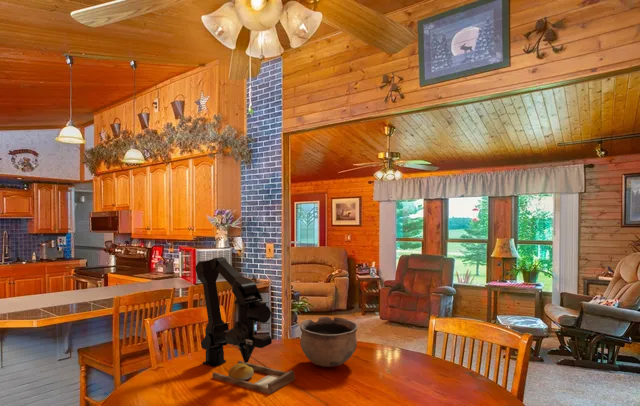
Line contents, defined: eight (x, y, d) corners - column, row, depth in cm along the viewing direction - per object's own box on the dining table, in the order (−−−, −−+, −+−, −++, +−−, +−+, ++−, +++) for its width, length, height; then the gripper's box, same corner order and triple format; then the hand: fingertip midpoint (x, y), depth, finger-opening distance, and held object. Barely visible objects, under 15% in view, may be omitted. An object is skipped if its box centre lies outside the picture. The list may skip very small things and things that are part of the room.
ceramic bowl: (345, 350, 174) (345, 314, 174) (367, 370, 154) (367, 329, 154) (293, 357, 167) (293, 319, 167) (309, 378, 147) (309, 335, 147)
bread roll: (237, 383, 141) (237, 371, 141) (225, 376, 148) (224, 364, 148) (258, 376, 146) (258, 364, 147) (246, 369, 153) (245, 358, 153)
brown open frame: (212, 378, 146) (212, 369, 146) (239, 365, 158) (239, 356, 158) (270, 395, 133) (270, 385, 133) (294, 379, 146) (294, 370, 146)
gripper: (209, 319, 146) (210, 364, 145) (251, 327, 136) (251, 375, 136) (232, 312, 155) (232, 355, 155) (272, 319, 146) (272, 364, 145)
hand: (246, 362), depth 148 cm, fingers closed
